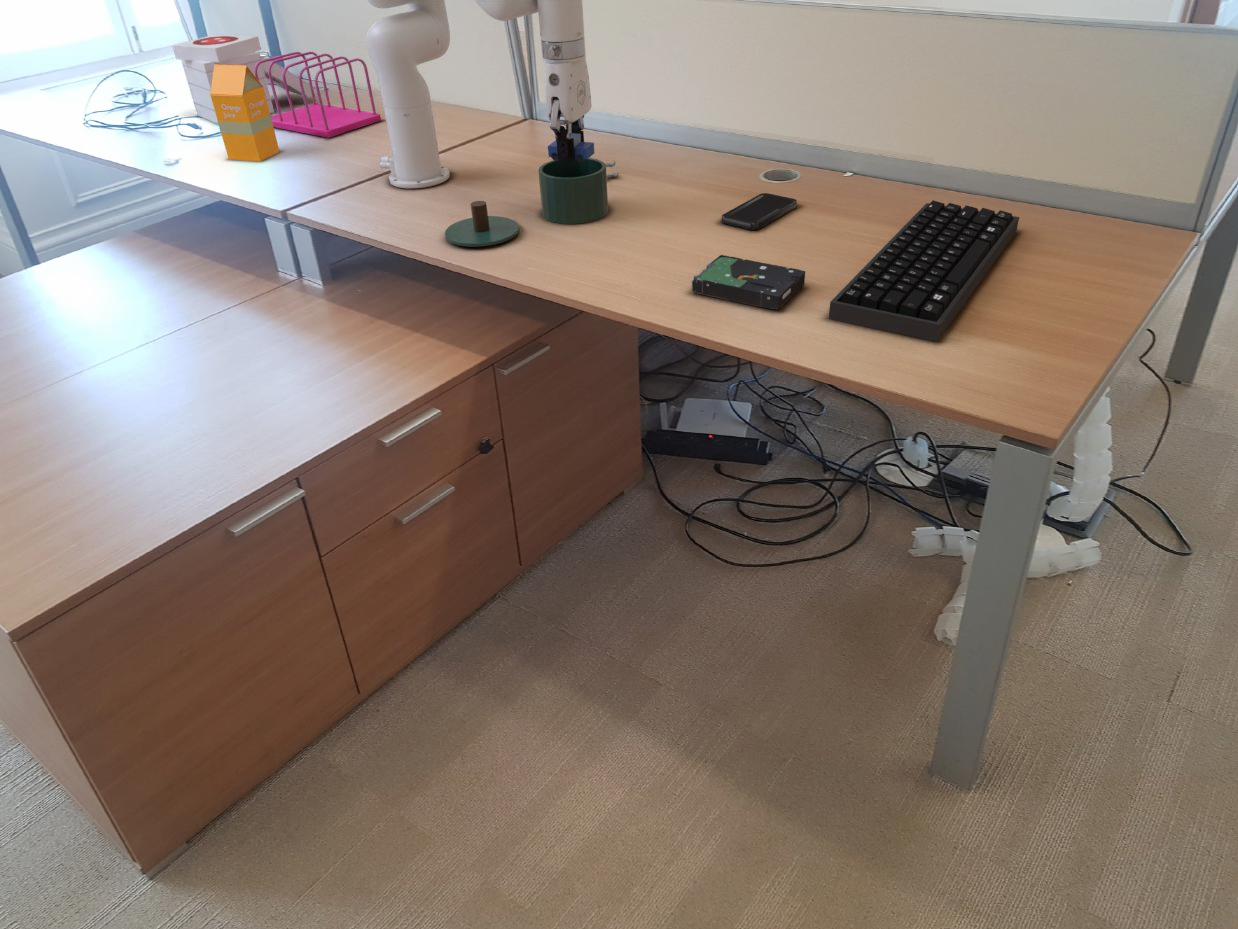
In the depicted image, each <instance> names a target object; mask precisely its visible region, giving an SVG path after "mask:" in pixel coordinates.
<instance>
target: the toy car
mask: <svg viewBox="0 0 1238 929" xmlns="http://www.w3.org/2000/svg"><path fill="white" fill-rule="evenodd" d="M571 138H574V151H575V159H577V161H578V162H583V161H584V160H587V159H588V158H592V156H593V155H595V142H592V141H589V142H588V141H584V142H581V134H575V133H571ZM547 152H548V158H551V159H552V160H554V161H557V160H558V154H557V142H556V139H555V140H554V141H553V142H551V143H550V144H548V145H547Z"/></svg>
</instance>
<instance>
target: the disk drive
mask: <svg viewBox="0 0 1238 929" xmlns="http://www.w3.org/2000/svg"><path fill="white" fill-rule="evenodd" d="M705 267H706V268H703V269H702V270H700V272H699V273H697V274H696V275H694V276H693V279H692V281H691V292H695V293H696V294H700V295H704V296H709V297H713V298H718V299H722V300H726V301H730V302H731V301H732V302H737V303H741V304H746V305H750V306H754V307H755V306H756V307H760V308H764V309H769V310H770V309H772V310H778V311H779V310H780V309H781V308H782V307H783V306H785V304H786V303H787V302H788V301H790V300H791V298H792V297H794V296H795V295H796V294H797V293H798V292H799V291H800V290H801V289H802V287H803V286H804V285H805V282H806V281H805V280H806V271H805V270H801V269H799V268H793V267H787V266H783V265H778V264H771V263H766V262H762V261H755V260H751V259H744V258H740V257H736V256H730V255H725V254H720V255H718V256H717V257H716V258H715V259H713V260H712V261H710V262H709V263H708V264H707V265H706V266H705Z"/></svg>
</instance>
